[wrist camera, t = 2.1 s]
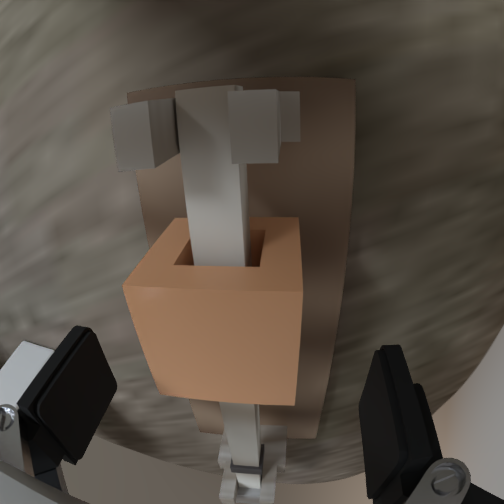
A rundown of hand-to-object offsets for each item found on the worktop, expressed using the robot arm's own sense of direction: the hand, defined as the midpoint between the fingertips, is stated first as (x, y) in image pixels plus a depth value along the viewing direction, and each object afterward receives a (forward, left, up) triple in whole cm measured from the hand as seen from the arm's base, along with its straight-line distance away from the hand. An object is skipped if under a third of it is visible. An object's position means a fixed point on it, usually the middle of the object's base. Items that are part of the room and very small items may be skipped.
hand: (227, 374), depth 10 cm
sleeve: (-1, 0, -5) cm, 5 cm away
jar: (+14, -21, -9) cm, 27 cm away
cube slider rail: (+4, 0, -9) cm, 10 cm away
